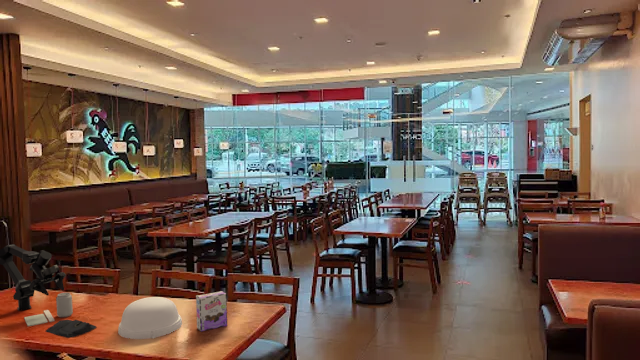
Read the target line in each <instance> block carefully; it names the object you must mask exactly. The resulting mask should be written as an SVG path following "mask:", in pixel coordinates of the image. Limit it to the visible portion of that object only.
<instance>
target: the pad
mask: <svg viewBox="0 0 640 360" xmlns="http://www.w3.org/2000/svg"><path fill="white" fill-rule="evenodd" d="M24 322H25V323H26V326H27V327H32V326H36V325H43V324H45V323H46V324H47V323H48V322H49V320H48V318H47V317H46V315H45V313H40V314H39V313H38V314H34V315H29V316H24Z"/></svg>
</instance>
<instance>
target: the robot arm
mask: <svg viewBox="0 0 640 360" xmlns="http://www.w3.org/2000/svg"><path fill="white" fill-rule="evenodd" d="M14 256H15V257H17V258H19V259H21V261H22V262H23V263H24V264H25V265H29V266H30V267H29V271H30V272H31V271H33V272H34V274H35V278H36V279H33V280H30V279H28V280H26V279H25V278H24V276H23V275H22V273H21V272H20V269H18V267H17V265H16V264H15V262H14V261H13V259H14ZM52 258H53V257H52V253H50V252H49V251H46V250H45V249H42V250H40V251H39V252H37V251H31V250H29V251H28V250H27V249H24V248H22V247H19V246H18V245H16V244H8V245H5V246H3V247H2V248H0V265H1V266H3V267H4V269H5V271H6V272H7V274H8V275H9V277H10V278H11V279H12V281H13V283H14V284H15V289H14V290H15V292H14V294H13V296H12V298H13V300H14V301H17V303H18V304H17V306H18V307H17V308H16V309H17V311H18V312H20V311H26V310H31V309H32V305H31V299H30V298H31V297H34V295H35V291H36V292H39V293H42V294H44V295H46V296H49V295H50V293H49V291H48V290H47V289H46V287H45V285H44V284H47V283H51V282H54V283H55V285H56V286H57V287H58V288H59V289H60V290H61V291H63V292H64V290H65V286H64V279H65V278H66V276H67V274H66V273H65V272H63V271H62V272H58V271H59V270H60V267H59V266H58V264H55V265H52V266H51V267H46V266H47V265H48V263H49V261H50V260H51V259H52ZM30 264H31V265H30ZM57 272H58V273H57ZM55 273H56V275H55ZM54 275H55V276H54Z"/></svg>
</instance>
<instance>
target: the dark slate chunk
mask: <svg viewBox="0 0 640 360" xmlns="http://www.w3.org/2000/svg"><path fill="white" fill-rule="evenodd" d="M95 329H97V326H96V325H94V324H91V323H90V322H87V321H82V320H78V319H73V320H72V319H63V320H62V319H61V320H59V321H57V322H56V323H54V324H53V325H52V326H50V327H48V328H47V329H46V330H45V332H46V333H50V334H52V335H55V336H59V337H64V338H67V339H70V338H75V337H77V336H82V335H84V334H87V333H90V332H92V331H93V330H95Z"/></svg>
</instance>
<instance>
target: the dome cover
mask: <svg viewBox="0 0 640 360" xmlns="http://www.w3.org/2000/svg"><path fill="white" fill-rule="evenodd" d="M177 307H178V306H177V305H176V304H175V302H174V301H173V300H171V299H169V298H166V297H162V296H149V297H144V298H143V297H142V298H140V299H137V300H135V301H132V302H131V303H129V304H128V305H127V306H126V307H125V309H124V310H123V313H122V315H121V321H120V322H119V324H118V329H117V330H118V331H117V332H118V335H119V336H121V337H122V338H126V339H129V338H130V339H129V340H145V339H155V338H159V337H163V336H165V335H166V334H167V335H169V334H172V333H174V332H176V331H177V329H178V330H179V329H181V328H182V326H183V319H182V316H181V315H180V314H179V311H178V308H177ZM181 325H182V326H181ZM175 330H176V331H175ZM173 331H174V332H173ZM171 332H172V333H171ZM167 335H166V336H167Z"/></svg>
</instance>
